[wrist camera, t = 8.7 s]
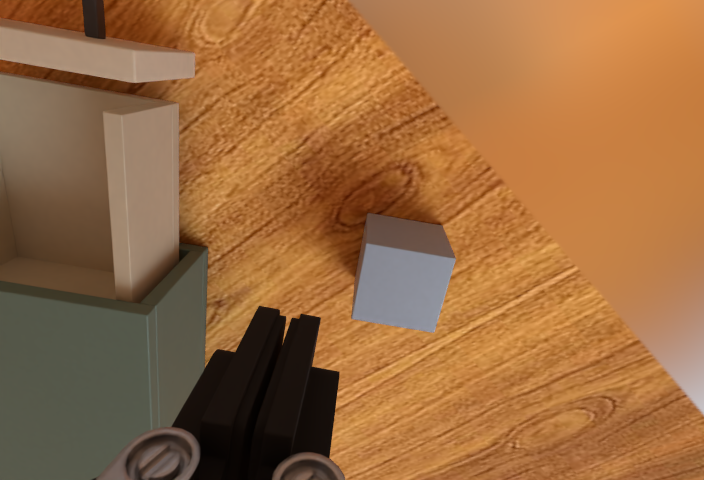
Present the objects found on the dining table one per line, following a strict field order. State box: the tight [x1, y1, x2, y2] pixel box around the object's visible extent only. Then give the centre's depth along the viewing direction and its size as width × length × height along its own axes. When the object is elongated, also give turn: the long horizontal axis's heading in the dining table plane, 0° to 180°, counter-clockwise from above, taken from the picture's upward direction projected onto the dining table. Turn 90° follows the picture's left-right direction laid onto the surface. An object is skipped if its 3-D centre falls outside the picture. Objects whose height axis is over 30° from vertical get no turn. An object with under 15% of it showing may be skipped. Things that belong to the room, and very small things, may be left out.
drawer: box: [0, 0, 195, 304], centre depth 19 cm, size 21×11×6 cm, turn 171°
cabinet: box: [0, 243, 208, 480], centre depth 25 cm, size 15×13×8 cm
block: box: [351, 213, 456, 333], centre depth 23 cm, size 4×4×4 cm
